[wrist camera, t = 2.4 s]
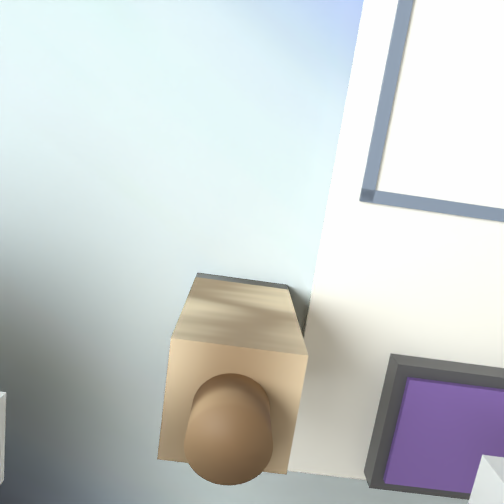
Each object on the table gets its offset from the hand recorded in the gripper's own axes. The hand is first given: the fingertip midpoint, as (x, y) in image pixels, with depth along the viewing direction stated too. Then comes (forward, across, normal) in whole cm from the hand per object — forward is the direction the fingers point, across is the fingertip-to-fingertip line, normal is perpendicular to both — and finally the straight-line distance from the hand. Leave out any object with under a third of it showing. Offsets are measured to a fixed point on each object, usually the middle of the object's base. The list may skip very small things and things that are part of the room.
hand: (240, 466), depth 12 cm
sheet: (+11, +12, +5) cm, 17 cm away
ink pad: (+11, +12, -4) cm, 17 cm away
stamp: (+11, 0, 0) cm, 11 cm away
